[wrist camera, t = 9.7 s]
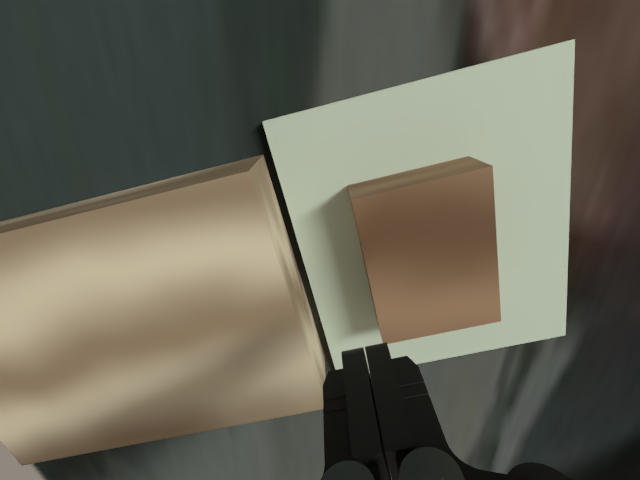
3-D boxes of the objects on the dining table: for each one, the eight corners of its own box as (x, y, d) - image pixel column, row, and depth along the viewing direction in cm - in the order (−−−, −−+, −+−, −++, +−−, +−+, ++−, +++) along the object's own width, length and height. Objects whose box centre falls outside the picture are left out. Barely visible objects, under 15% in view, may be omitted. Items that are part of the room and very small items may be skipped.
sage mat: (263, 120, 17) (262, 121, 16) (565, 41, 16) (575, 38, 15) (337, 372, 23) (338, 379, 22) (559, 329, 22) (565, 335, 21)
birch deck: (-56, 235, 19) (-146, 270, 15) (263, 154, 17) (249, 171, 14) (67, 407, 24) (21, 465, 20) (324, 356, 22) (326, 408, 19)
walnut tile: (492, 165, 15) (468, 155, 17) (351, 199, 15) (346, 185, 17) (501, 321, 18) (479, 294, 20) (383, 344, 18) (375, 316, 20)
